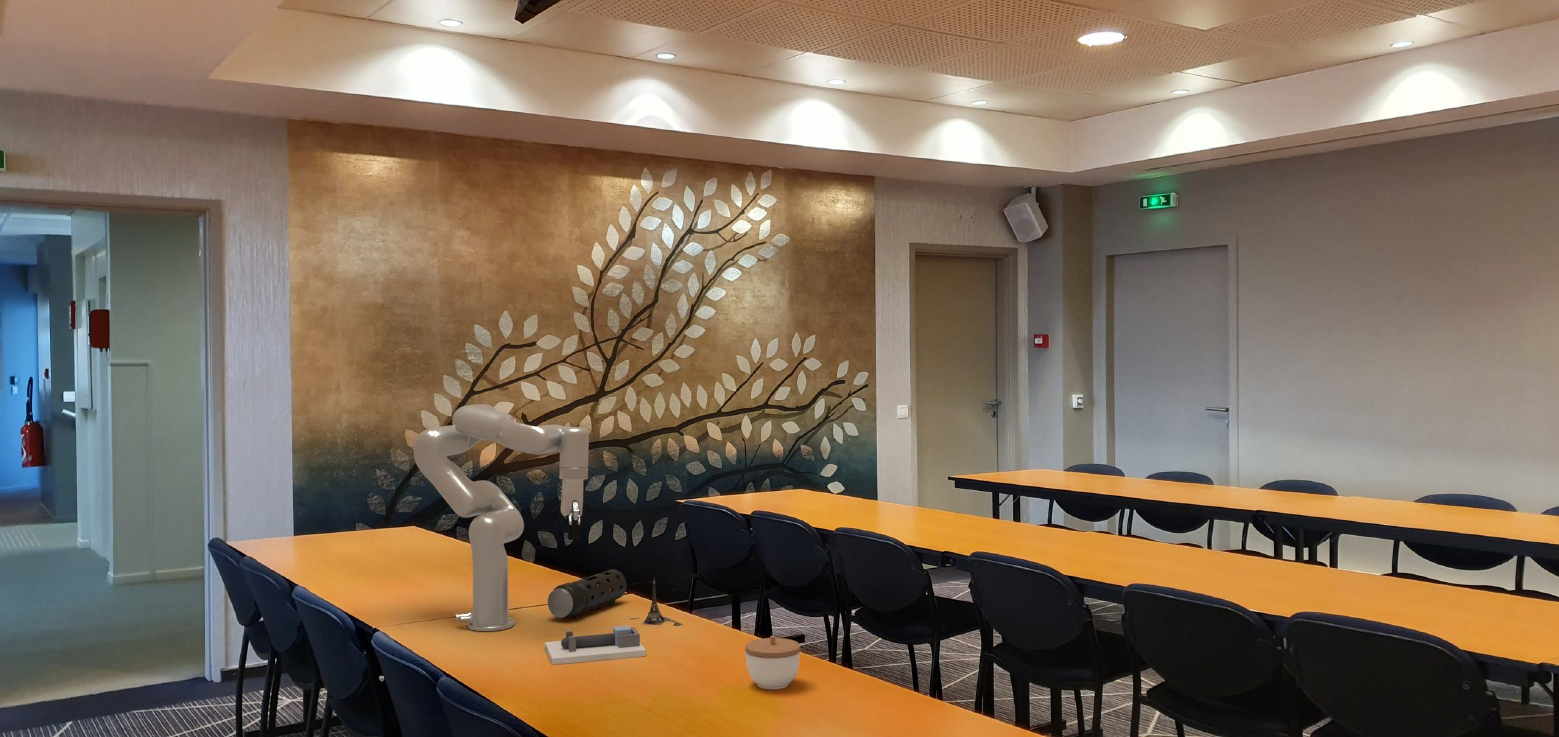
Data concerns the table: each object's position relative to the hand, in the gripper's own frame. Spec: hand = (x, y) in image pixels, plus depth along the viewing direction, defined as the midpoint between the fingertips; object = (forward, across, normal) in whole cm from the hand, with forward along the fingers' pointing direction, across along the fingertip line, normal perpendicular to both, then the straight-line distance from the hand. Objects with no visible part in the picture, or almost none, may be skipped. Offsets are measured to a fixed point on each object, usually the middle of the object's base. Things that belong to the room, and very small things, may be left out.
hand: (571, 536), depth 297 cm
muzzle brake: (+27, -23, +8) cm, 36 cm away
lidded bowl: (+24, +61, +39) cm, 77 cm away
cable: (+24, +21, +4) cm, 32 cm away
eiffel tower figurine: (+26, -5, +25) cm, 36 cm away
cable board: (+26, +21, +4) cm, 33 cm away
